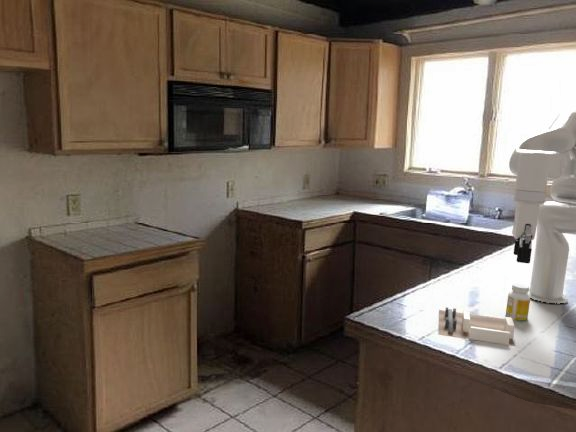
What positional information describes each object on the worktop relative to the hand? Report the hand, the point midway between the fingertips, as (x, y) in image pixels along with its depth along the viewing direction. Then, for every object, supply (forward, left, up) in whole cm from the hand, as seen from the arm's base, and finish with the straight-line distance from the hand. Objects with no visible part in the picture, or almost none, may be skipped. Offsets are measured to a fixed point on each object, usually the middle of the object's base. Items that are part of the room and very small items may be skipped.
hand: (521, 258), depth 138 cm
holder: (+16, -8, -17) cm, 25 cm away
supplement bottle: (-1, +1, -18) cm, 18 cm away
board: (+11, -11, -18) cm, 24 cm away
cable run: (+11, -17, -17) cm, 27 cm away
